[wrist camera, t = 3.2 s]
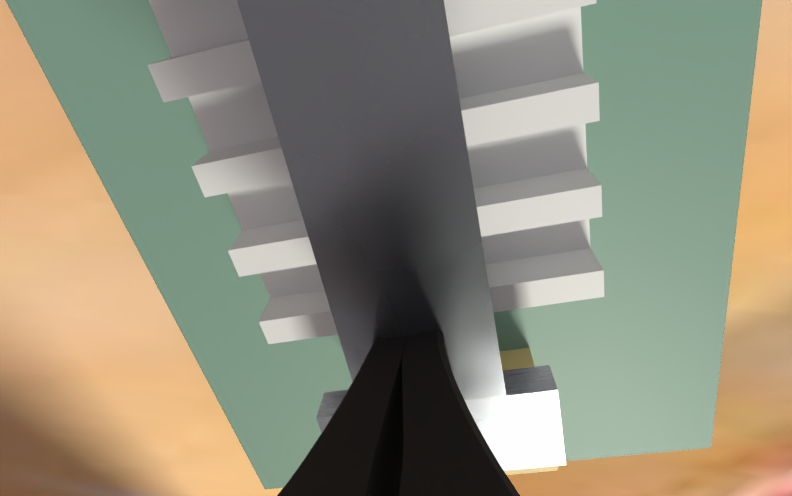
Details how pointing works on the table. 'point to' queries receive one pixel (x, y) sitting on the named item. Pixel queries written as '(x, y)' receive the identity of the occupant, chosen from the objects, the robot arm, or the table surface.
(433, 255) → the grey flat bar
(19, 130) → the table surface
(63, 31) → the board
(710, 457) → the table surface
